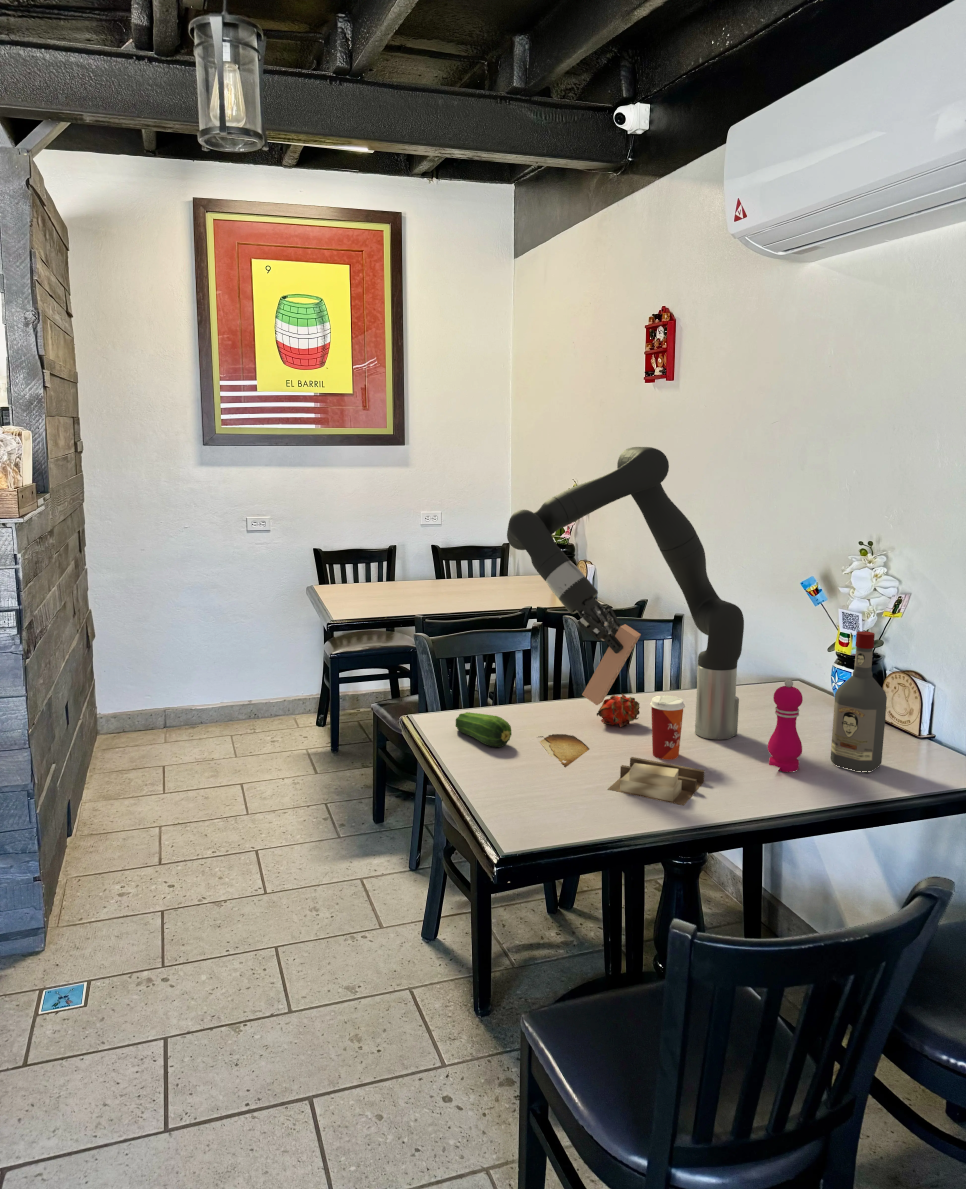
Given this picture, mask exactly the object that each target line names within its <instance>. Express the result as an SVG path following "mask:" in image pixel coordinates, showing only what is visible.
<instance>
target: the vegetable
mask: <svg viewBox="0 0 966 1189" xmlns="http://www.w3.org/2000/svg"><path fill="white" fill-rule="evenodd" d="M455 727H456V729H457V730H458V732H460V733H461V734H463V733H464V735H467V736H469V737H472V738H474V739H476V740H477V741H479V742H481V743H482V744H484V745H486V746H489V747H491V746H492V747H491V748H501V747H503V746H506V745H507V743H508V742H509V741H510V739H511V737H512V726H511V724H510V723H509V721H506V719H504V718H503V717H500V716H497V715H494V714H493V715H492V714H487V713H486V714H485V713H477V712H468V711H467V712H464V713H459V714H458V716H457V717H456V718H455Z"/></svg>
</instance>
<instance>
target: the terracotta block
mask: <svg viewBox="0 0 966 1189" xmlns="http://www.w3.org/2000/svg"><path fill="white" fill-rule="evenodd" d="M641 635H642V634H641V633H639V632H638V631H637V630H635V629H634V628H632V627H631V626H629V625H628V624H623V625H622V624H621V626H620V627H619V630H618V631H617V633H616V635H615V637H616V638H617V639H618V640H619V642H620V643H621V644H622V645H623V649H622V650H621V651H620V652H619V653H617V654H616V653H614V651H613V650H612V649H611V648H610V647H609V646H608V647H607V649H606V651H605V653H604V655H603V656H602V658H601V660H600V662H599V663H598V666H597V667H596V669H595V670H594V672H593V674H592V676H591V678H590V680H589V681H588V683H587V685H586V686H585V688H584V691H583V692H582V694H581V695H582V696H583V697H584V698H586V699H587V700H589V701H590V702H591V703H593V705H595V706H599V705H600V704H603V702H604V700H605V698H606V697H607V695H608V693H609V691H610V689H611V688H612V686H613V684H614V683H615V681H616V679H617V678H618V675H619V674H620V672H621V670H622V669H623V667H624V666H625V663H626V662H627V659H628V658H629V656H630V655H631V653H632V651H633V649H634V648H635V646H636V644H637V642H638V640H639V639H640V638H641Z"/></svg>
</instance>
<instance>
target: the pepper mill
mask: <svg viewBox="0 0 966 1189" xmlns="http://www.w3.org/2000/svg"><path fill="white" fill-rule="evenodd" d="M803 701H804V700H803V694H802V692H801V690H800V689H799V688H797V687H795V686H794V681H793V680H792V679H786V680H784V685H782V686H780V687H777V689H776V690H774V693H773V702H774V703H775V705H776V706H775V708H774V710H775V711H774V714H775V715H776V719H777V720H776V725H775V728H774V731H773V733H772V734H771V735H770V738H769V739H768V744H767V751H768V753H769V754H770V757H769V760H768V765H769V766H773V767H775V768H776V767H777V768H779V769H778V770H777V771H778V772H780V771H782V772H781V773H794V772H793V771H795V772H797V771H799V769H800V760H799V759H798V758H800V756H801V755H802V754H803V745H802V742H801V741H802V740H801V739H800V736H799V733H798V730H797V720H798V719H797V718H798V717H799V716H800V709H799V708H800V706H801V705H802V703H803ZM796 770H797V771H796Z"/></svg>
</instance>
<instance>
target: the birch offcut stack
mask: <svg viewBox="0 0 966 1189" xmlns="http://www.w3.org/2000/svg"><path fill="white" fill-rule="evenodd" d="M681 788H682V781H681V780H678V769H675V768H668V767H660V766H653V765H646V764H638V763H634V765H633V766H632V768H631V769H630V771H629V772H628V773H627V774H626V775H625V776H624V777H622V778H621V779H620V791H624V792H629V793H634V794H639V795H644V796H648V797H653V798H658V799H663V800H668V801H672V802H673V800H674V799H675V798H676V797H677V796H678V795H679V794H680V793H681Z"/></svg>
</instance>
